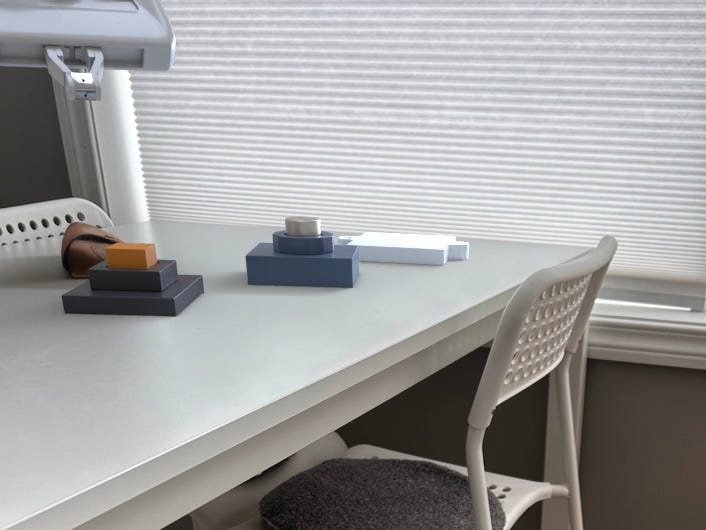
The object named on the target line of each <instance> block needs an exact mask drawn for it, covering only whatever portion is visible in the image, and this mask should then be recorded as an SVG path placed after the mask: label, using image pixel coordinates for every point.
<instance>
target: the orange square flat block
mask: <svg viewBox="0 0 706 530" xmlns="http://www.w3.org/2000/svg"><path fill="white" fill-rule="evenodd" d="M156 249H157V248H156V244H155V243H145V242H144V243H142V242H125V243H115V244H113V245H111V246H109V247H107V248H105V250H106V256H107V263H108V268H133V269H151V268H152V267H154V266H155V265H157V260H158V258H157V257H158V256H157V250H156Z"/></svg>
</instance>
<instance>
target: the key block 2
mask: <svg viewBox="0 0 706 530" xmlns="http://www.w3.org/2000/svg"><path fill="white" fill-rule="evenodd" d="M320 232H321V236H312V237H298V236H288V235H286V229H284V230H279V231H274V232H273V233H272V242H258V244H256V245H255V246H254V247H253V248H252V249H251V250H250V251H249V252H248V253H246V254H245V255H244V256H245V267H246V268H245V269H246V279H247V285H248V286H271V285H275V287H276V286H277V287H278V286H279V287H306V288H307V287H310V288H344V289H345V288H347V289H353V288H354V286H355V284H356V282H357V279H358V277H359V275H360V261H359V249H358V246H355V245H338V244H335V235H334V233H332V232H329V231H326V230H320Z"/></svg>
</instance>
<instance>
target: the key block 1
mask: <svg viewBox="0 0 706 530" xmlns="http://www.w3.org/2000/svg"><path fill="white" fill-rule="evenodd" d="M88 276H89V278H88V280H86V281H84V282H82V283H81V284H79V285H77V286H76V287H74V288H72V289H70V290H68V291H66V292H65V293H63V294H62V295H61V301H62V307H63V312H64V314H65V315H66V314H67V315H69V314H70V315H71V314H72V315H74V314H75V315H104V316H105V315H107V316H110V315H111V316H143V317H144V316H147V317H177V316H179V315H180V314H181V313H182V312H183V311H184V310H185V309H186V308H188V307H189V306H190V305H192V303H193V302H194V301H196V300H197V299H198V298H199V297H200V296H202V294H205V287H204V278H203V274H178V264H177V260H176V259H157V265H155V266H154V267H152V268H151V269H133V268H108V263H107V259H106V260H104V261H102V262H100V263H99V264H97V265H95V266H93V267H91V268H90V269H88Z"/></svg>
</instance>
